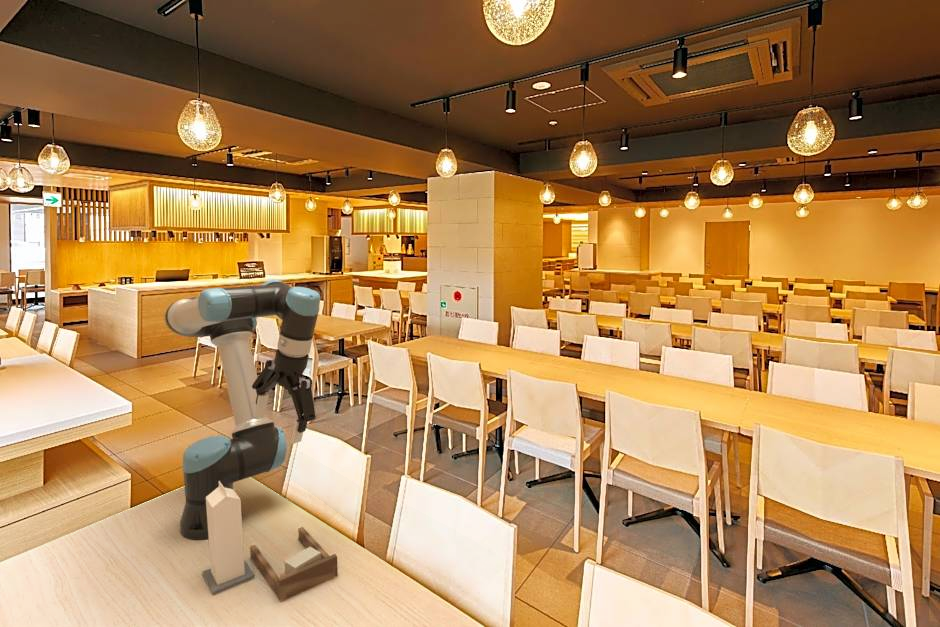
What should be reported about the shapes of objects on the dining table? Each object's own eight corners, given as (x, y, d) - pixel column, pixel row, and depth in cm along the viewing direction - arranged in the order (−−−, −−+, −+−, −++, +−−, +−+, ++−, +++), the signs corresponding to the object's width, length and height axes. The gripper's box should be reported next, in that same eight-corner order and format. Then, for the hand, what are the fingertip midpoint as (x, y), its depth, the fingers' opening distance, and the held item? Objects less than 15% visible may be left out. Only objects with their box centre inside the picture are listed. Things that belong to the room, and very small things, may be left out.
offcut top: (284, 573, 117) (284, 561, 117) (310, 558, 123) (310, 546, 122) (295, 580, 115) (295, 567, 114) (321, 564, 120) (320, 552, 120)
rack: (250, 557, 127) (249, 538, 126) (303, 537, 135) (302, 519, 135) (280, 601, 112) (280, 580, 111) (337, 575, 120) (337, 556, 120)
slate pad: (202, 574, 120) (202, 571, 120) (242, 559, 126) (242, 556, 126) (212, 595, 113) (212, 592, 113) (254, 578, 119) (254, 574, 119)
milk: (217, 585, 115) (210, 494, 112) (210, 572, 120) (203, 484, 116) (245, 574, 119) (239, 486, 116) (238, 561, 124) (232, 476, 120)
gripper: (246, 334, 125) (232, 411, 130) (318, 375, 114) (299, 457, 119) (271, 331, 131) (257, 404, 136) (341, 369, 121) (323, 448, 125)
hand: (277, 429), depth 128 cm, fingers open, 13 cm apart
